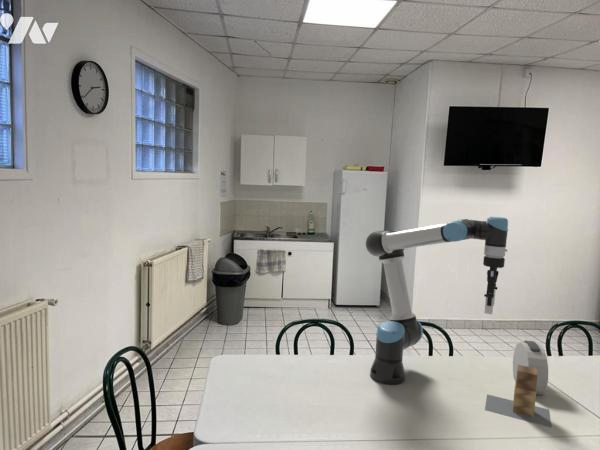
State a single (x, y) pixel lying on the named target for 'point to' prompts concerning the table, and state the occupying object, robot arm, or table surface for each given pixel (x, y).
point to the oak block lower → (523, 407)
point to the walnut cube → (526, 378)
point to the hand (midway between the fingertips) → (489, 309)
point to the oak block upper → (524, 395)
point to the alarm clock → (532, 362)
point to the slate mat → (506, 409)
